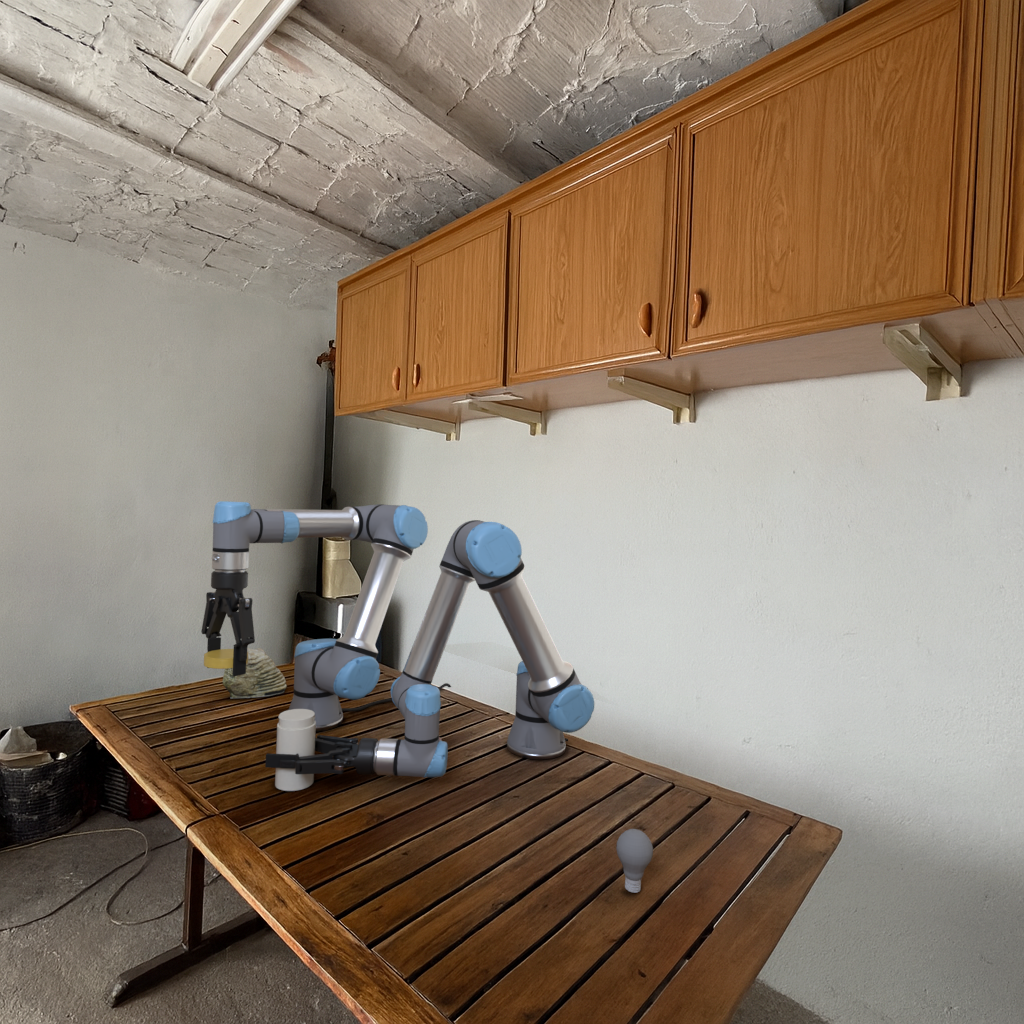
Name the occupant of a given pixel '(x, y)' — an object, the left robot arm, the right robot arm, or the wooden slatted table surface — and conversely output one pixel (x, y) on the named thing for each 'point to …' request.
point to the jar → (295, 746)
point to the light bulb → (634, 857)
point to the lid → (220, 659)
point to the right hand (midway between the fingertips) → (274, 752)
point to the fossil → (255, 677)
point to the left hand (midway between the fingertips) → (226, 670)
